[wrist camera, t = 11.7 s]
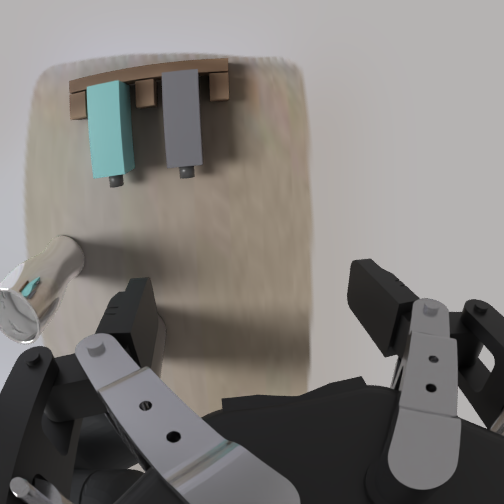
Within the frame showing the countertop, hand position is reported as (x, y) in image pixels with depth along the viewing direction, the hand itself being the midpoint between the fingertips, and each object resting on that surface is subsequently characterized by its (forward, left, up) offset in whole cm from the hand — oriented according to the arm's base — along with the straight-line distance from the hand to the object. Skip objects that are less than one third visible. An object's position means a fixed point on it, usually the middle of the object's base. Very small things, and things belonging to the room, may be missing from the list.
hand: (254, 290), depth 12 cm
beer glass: (-8, +22, -26) cm, 35 cm away
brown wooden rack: (+12, +8, -26) cm, 30 cm away
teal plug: (+7, +12, -26) cm, 30 cm away
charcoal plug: (+7, +4, -26) cm, 28 cm away
